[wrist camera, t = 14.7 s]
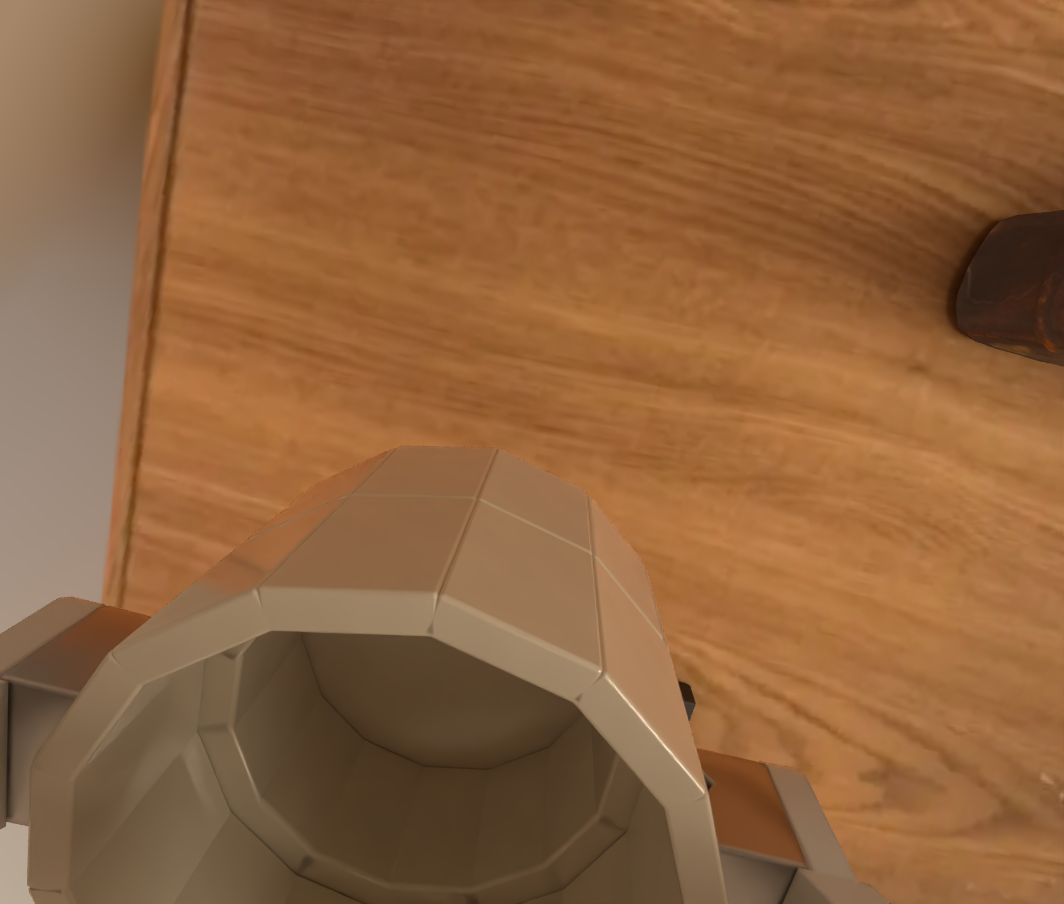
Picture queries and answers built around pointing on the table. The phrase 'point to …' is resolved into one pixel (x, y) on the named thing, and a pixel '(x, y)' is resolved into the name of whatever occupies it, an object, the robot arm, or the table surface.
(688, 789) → the beige cup
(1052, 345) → the book
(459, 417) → the table surface
